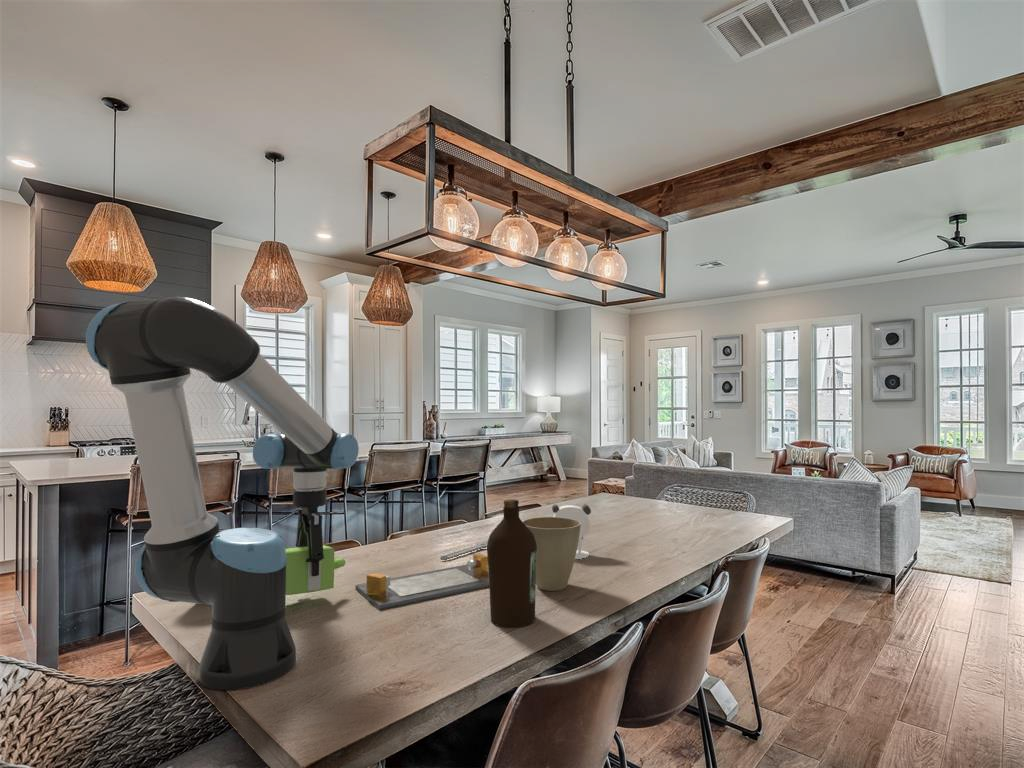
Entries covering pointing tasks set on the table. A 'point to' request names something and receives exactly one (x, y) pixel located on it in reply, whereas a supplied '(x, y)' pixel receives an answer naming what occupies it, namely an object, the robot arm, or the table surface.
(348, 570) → the table surface
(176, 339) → the robot arm
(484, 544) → the adjustable wrench
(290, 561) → the green block with lugs
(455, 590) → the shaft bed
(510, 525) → the olive oil
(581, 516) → the panda figurine
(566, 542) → the plant pot
